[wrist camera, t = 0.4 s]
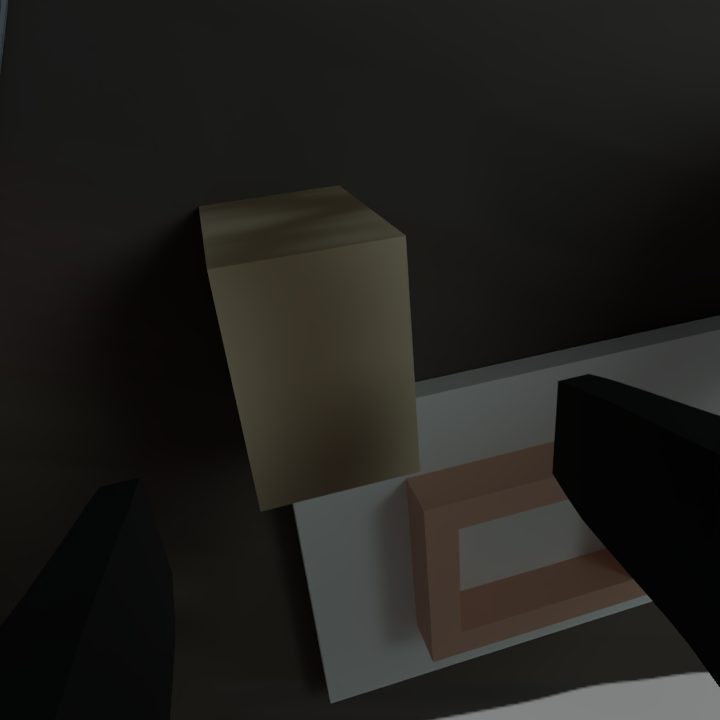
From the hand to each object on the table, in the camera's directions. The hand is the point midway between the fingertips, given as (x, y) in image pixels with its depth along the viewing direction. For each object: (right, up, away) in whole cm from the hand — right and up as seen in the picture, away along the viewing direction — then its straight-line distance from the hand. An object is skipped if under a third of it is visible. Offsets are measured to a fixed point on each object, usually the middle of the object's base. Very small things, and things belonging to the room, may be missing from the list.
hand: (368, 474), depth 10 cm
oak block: (-2, +4, +8) cm, 10 cm away
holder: (+6, -4, +15) cm, 17 cm away
